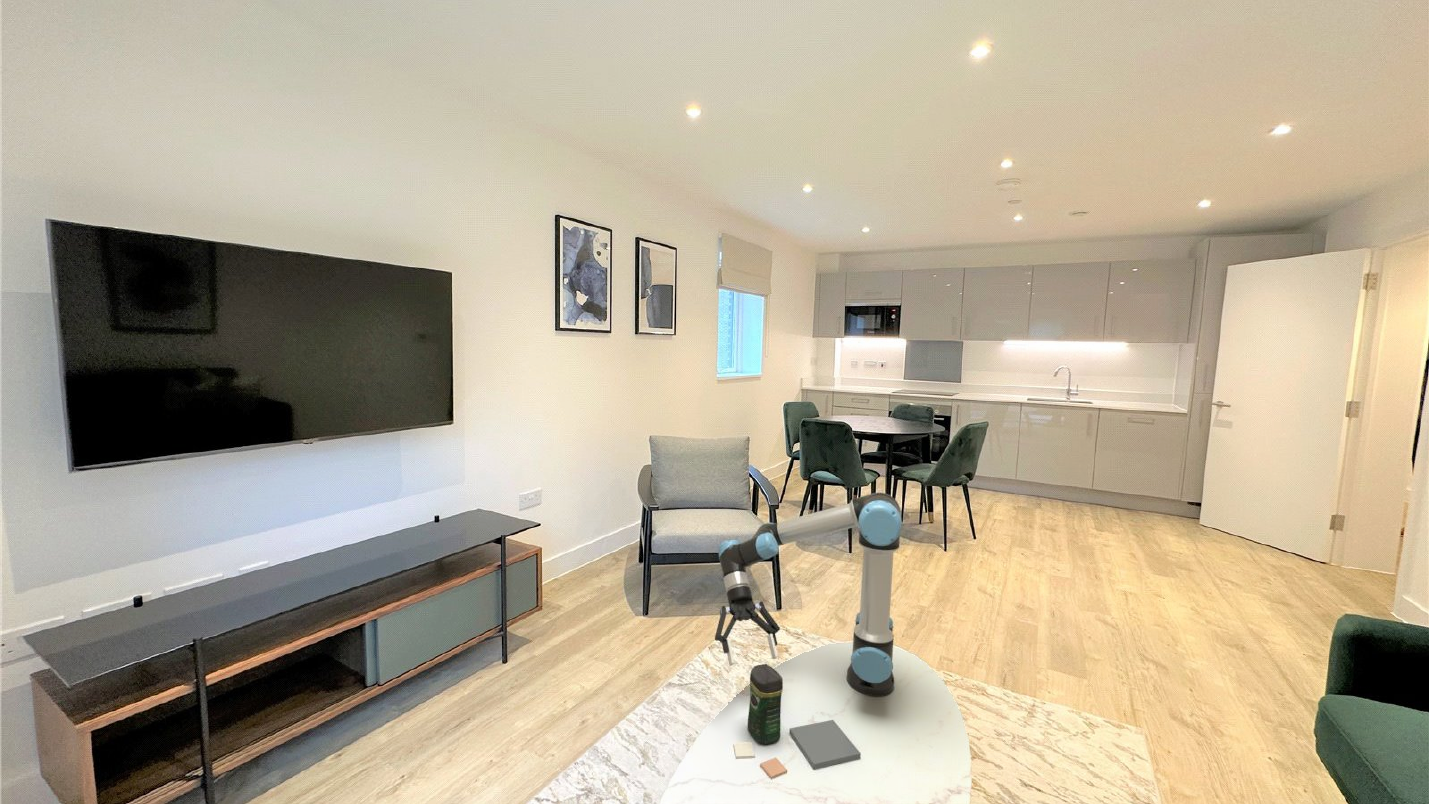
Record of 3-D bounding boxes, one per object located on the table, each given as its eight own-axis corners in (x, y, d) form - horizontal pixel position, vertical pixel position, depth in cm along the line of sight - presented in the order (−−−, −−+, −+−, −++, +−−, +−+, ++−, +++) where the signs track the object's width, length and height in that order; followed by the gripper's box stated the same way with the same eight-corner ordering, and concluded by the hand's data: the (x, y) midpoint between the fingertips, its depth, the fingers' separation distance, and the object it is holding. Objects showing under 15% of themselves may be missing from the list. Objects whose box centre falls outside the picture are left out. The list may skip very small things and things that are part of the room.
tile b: (751, 746, 151) (751, 742, 151) (754, 759, 146) (754, 755, 146) (733, 747, 150) (733, 742, 150) (735, 760, 145) (736, 756, 145)
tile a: (775, 761, 146) (775, 757, 145) (787, 774, 141) (787, 770, 141) (759, 767, 143) (760, 763, 143) (770, 781, 139) (771, 776, 139)
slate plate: (832, 724, 160) (833, 719, 160) (860, 758, 147) (860, 753, 147) (789, 733, 156) (789, 728, 156) (813, 769, 143) (814, 764, 142)
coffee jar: (784, 741, 153) (788, 677, 151) (759, 748, 149) (762, 683, 148) (767, 719, 161) (770, 659, 160) (743, 726, 158) (746, 664, 156)
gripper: (770, 590, 180) (788, 659, 167) (697, 598, 172) (709, 670, 159) (778, 581, 175) (797, 651, 162) (703, 588, 167) (716, 663, 154)
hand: (753, 661), depth 161 cm, fingers open, 13 cm apart
